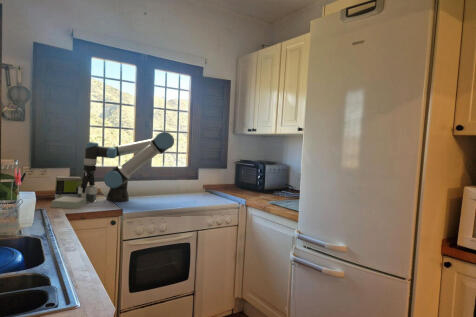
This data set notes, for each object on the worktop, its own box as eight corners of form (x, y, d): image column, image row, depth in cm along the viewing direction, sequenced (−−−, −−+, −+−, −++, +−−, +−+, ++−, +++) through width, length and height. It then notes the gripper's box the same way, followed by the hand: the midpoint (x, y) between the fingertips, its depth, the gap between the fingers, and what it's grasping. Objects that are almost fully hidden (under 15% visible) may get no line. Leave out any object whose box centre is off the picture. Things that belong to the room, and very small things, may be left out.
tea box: (78, 197, 214) (80, 176, 214) (80, 199, 205) (82, 178, 205) (54, 197, 205) (56, 175, 205) (54, 199, 197) (56, 177, 197)
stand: (86, 204, 192) (86, 197, 192) (77, 208, 177) (77, 202, 177) (62, 202, 190) (63, 196, 190) (51, 207, 174) (51, 200, 174)
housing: (95, 200, 207) (97, 186, 207) (93, 202, 201) (94, 187, 201) (77, 199, 205) (78, 185, 205) (73, 201, 199) (75, 186, 199)
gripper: (90, 163, 214) (87, 193, 214) (77, 165, 190) (74, 198, 190) (101, 164, 216) (98, 194, 216) (90, 166, 191) (86, 199, 191)
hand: (86, 196), depth 203 cm, fingers open, 13 cm apart
